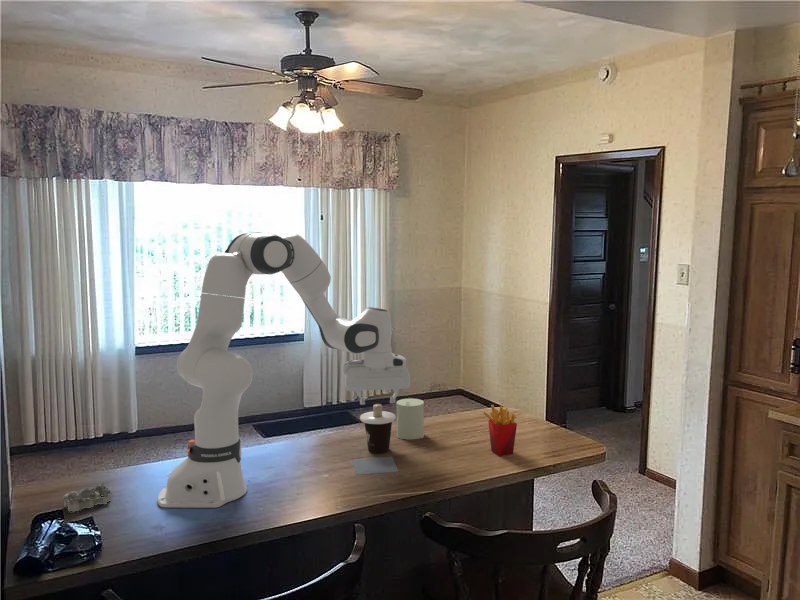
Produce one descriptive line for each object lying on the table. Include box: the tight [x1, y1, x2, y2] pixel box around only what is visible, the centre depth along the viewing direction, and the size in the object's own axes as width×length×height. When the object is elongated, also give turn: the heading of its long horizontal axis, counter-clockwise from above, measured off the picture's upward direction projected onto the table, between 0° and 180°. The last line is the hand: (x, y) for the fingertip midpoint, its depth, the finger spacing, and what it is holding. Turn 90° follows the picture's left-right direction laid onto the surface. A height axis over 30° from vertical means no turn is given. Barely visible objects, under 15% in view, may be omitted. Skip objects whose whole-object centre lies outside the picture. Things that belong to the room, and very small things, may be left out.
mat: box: [352, 456, 399, 476], centre depth 196 cm, size 12×12×1 cm
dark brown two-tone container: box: [364, 422, 393, 455], centre depth 209 cm, size 12×9×10 cm
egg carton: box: [62, 482, 113, 512], centre depth 172 cm, size 11×8×4 cm
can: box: [395, 397, 425, 441], centre depth 222 cm, size 9×9×12 cm
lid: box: [359, 403, 396, 424], centre depth 208 cm, size 11×11×4 cm
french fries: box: [482, 404, 518, 457], centre depth 204 cm, size 9×8×15 cm
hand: (377, 403), depth 208 cm, fingers open, 8 cm apart
